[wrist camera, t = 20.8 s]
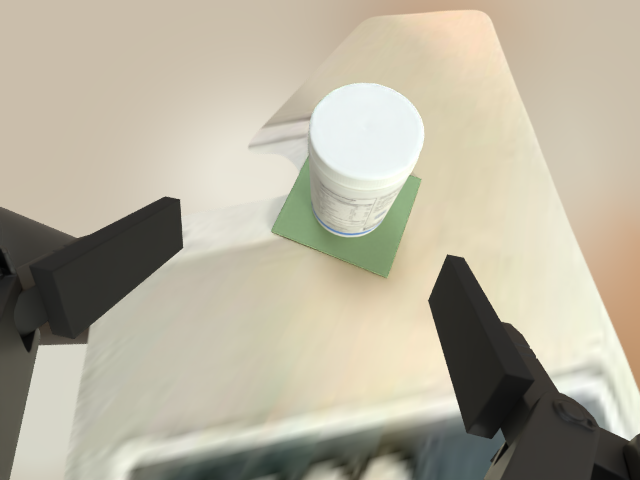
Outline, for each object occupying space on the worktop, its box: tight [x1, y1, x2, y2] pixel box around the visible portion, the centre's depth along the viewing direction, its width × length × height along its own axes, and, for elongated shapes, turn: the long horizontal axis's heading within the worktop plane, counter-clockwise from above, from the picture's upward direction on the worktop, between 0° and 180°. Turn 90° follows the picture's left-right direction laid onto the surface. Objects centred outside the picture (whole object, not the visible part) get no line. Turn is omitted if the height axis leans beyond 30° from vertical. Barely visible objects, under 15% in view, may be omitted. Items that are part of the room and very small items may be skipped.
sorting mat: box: [271, 155, 421, 278], centre depth 38 cm, size 15×14×1 cm
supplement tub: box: [308, 83, 424, 237], centre depth 30 cm, size 10×10×15 cm
